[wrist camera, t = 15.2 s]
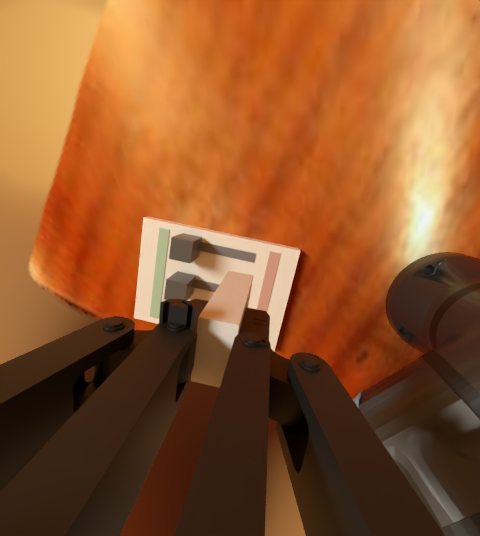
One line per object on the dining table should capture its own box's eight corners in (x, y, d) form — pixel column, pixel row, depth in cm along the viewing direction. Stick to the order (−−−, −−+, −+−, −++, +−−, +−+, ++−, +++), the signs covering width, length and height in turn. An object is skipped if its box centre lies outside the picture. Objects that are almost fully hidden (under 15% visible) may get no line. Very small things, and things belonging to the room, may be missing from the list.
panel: (299, 248, 40) (300, 250, 38) (274, 345, 45) (274, 352, 43) (149, 216, 42) (143, 217, 40) (139, 313, 47) (133, 318, 45)
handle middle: (196, 275, 41) (187, 284, 37) (193, 293, 42) (184, 304, 37) (177, 271, 41) (166, 279, 37) (175, 289, 42) (163, 299, 38)
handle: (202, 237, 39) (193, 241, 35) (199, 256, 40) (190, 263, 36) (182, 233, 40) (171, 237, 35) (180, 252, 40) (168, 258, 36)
